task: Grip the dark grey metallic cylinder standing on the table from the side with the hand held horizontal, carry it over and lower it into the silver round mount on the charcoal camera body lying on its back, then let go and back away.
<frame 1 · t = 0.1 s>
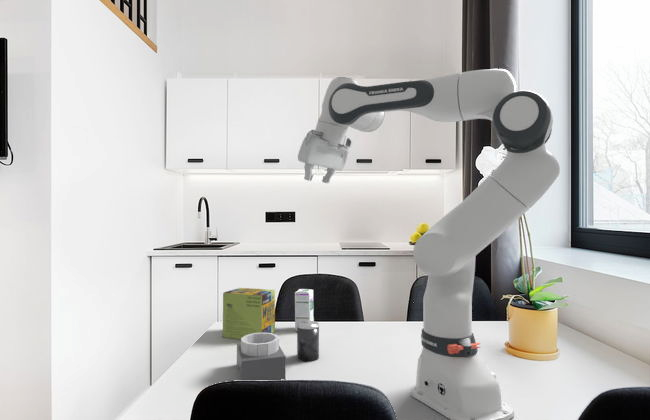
hand: (316, 181, 111), 52 cm above the table, tool tilted 20°, fingers open, 8 cm apart
dark grey metallic cylinder: (308, 357, 112), on the table
syrup box: (304, 330, 139), on the table
protein box: (249, 335, 133), on the table
camera body: (259, 371, 102), on the table
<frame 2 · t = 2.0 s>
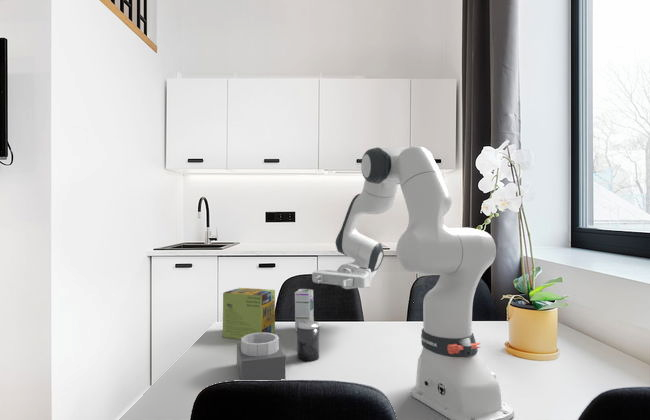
hand: (328, 282, 122), 20 cm above the table, tool horizontal, fingers open, 8 cm apart
nothing on the table moved.
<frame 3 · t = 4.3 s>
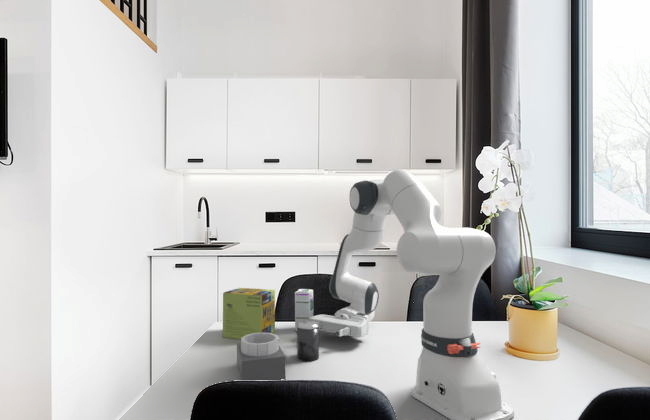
hand: (325, 331, 120), 5 cm above the table, tool horizontal, fingers open, 8 cm apart
nothing on the table moved.
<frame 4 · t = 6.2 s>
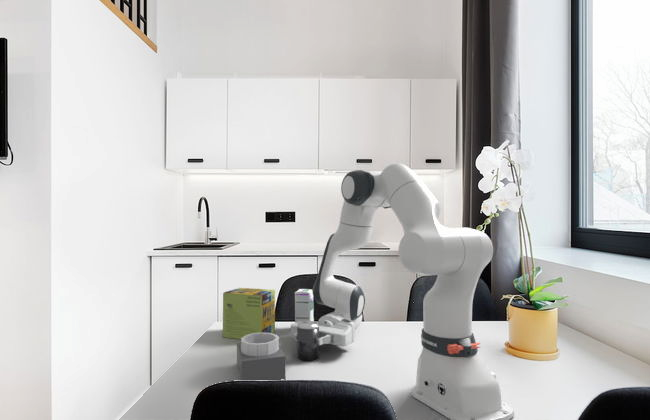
hand: (306, 339, 111), 6 cm above the table, tool horizontal, fingers closed on dark grey metallic cylinder, 6 cm apart
dark grey metallic cylinder: (308, 357, 112), on the table, touching gripper
everything else where it was.
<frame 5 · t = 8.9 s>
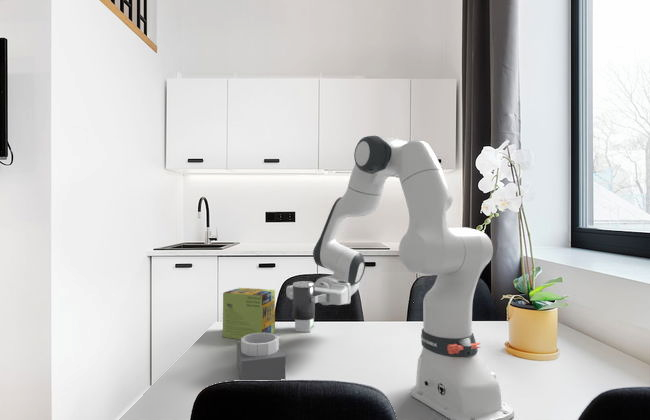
hand: (301, 298, 110), 18 cm above the table, tool horizontal, fingers closed on dark grey metallic cylinder, 6 cm apart
dark grey metallic cylinder: (303, 317, 111), point 12 cm above the table, touching gripper
everything else where it was.
when the fingers open (13 cm above the table, at t = 11.5 s): dark grey metallic cylinder stays where it is, resting on camera body.
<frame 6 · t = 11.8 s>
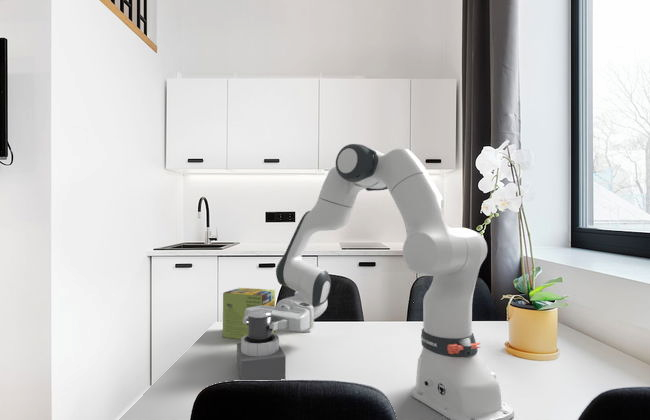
hand: (257, 324, 101), 13 cm above the table, tool horizontal, fingers open, 8 cm apart
dark grey metallic cylinder: (260, 349, 102), point 6 cm above the table, touching camera body
everything else where it was.
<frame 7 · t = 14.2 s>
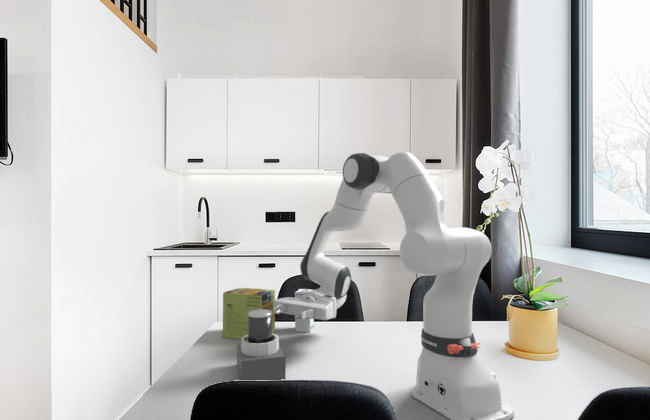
hand: (287, 313, 112), 13 cm above the table, tool horizontal, fingers open, 8 cm apart
nothing on the table moved.
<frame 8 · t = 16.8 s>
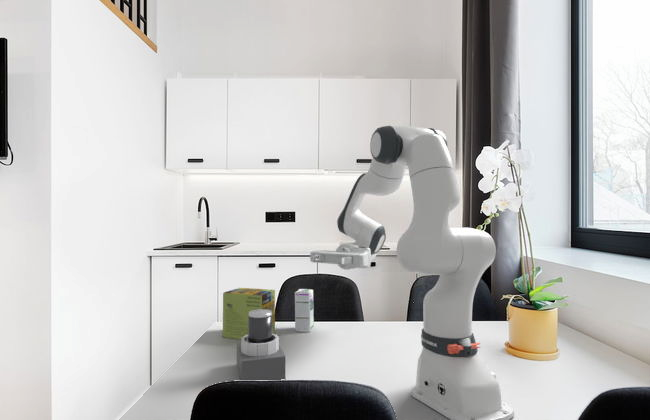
hand: (326, 260, 119), 28 cm above the table, tool horizontal, fingers open, 8 cm apart
nothing on the table moved.
at the end: dark grey metallic cylinder 0.1 cm off-centre on the camera body, point 6.0 cm above the camera body's base; dark grey metallic cylinder tilted 0°; the gripper is holding nothing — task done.
